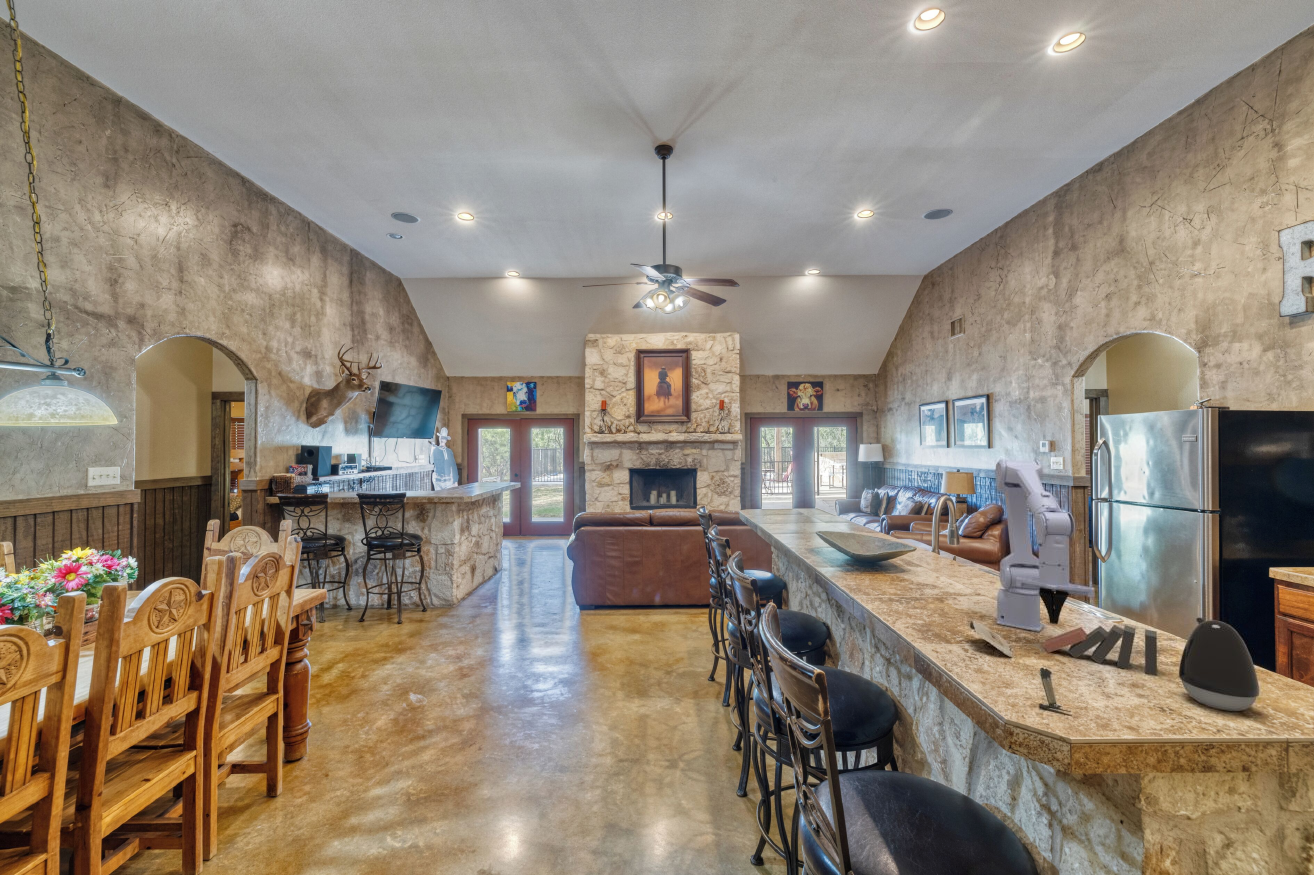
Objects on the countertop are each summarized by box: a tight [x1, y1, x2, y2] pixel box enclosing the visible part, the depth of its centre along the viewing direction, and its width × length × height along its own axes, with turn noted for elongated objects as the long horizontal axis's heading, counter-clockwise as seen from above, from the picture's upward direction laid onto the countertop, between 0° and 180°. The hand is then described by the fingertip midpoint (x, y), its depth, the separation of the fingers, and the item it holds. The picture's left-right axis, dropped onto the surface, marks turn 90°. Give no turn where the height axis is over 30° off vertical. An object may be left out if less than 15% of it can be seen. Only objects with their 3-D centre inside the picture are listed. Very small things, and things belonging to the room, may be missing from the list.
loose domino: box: [1042, 626, 1088, 653], centre depth 123 cm, size 2×5×8 cm
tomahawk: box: [1038, 667, 1073, 717], centre depth 102 cm, size 21×7×1 cm, turn 146°
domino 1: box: [1067, 625, 1109, 659], centre depth 120 cm, size 2×5×8 cm
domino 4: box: [1144, 629, 1158, 677], centre depth 113 cm, size 2×5×8 cm, turn 137°
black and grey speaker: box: [1178, 617, 1260, 712], centre depth 99 cm, size 10×10×15 cm
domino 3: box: [1116, 624, 1136, 671], centre depth 116 cm, size 2×5×8 cm, turn 137°
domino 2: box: [1090, 624, 1124, 665], centre depth 118 cm, size 2×5×8 cm, turn 136°
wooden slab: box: [969, 620, 1014, 659], centre depth 126 cm, size 11×4×12 cm
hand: (1054, 622), depth 125 cm, fingers closed
